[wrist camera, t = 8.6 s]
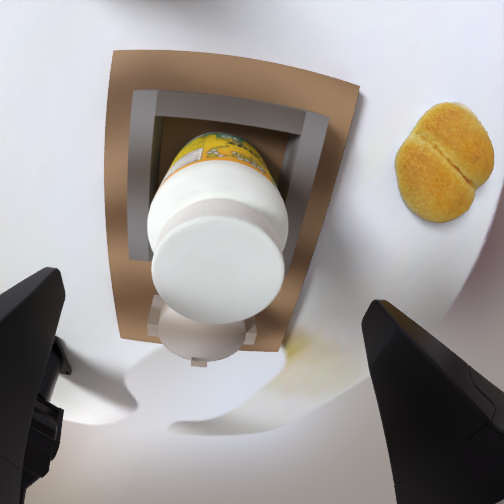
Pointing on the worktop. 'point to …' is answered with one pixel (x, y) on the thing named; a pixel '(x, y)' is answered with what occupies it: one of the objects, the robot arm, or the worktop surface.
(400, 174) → the bread roll
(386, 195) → the worktop surface
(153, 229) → the supplement bottle
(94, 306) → the worktop surface
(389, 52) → the worktop surface
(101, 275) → the worktop surface
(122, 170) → the carrier plate
